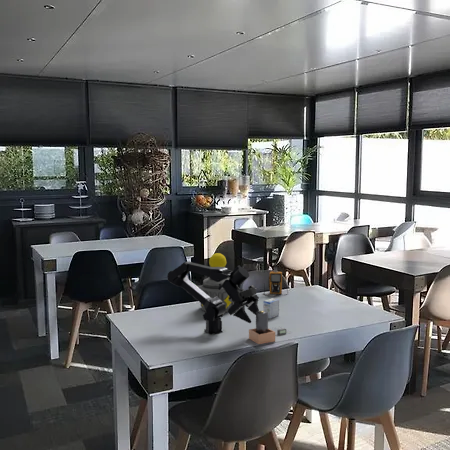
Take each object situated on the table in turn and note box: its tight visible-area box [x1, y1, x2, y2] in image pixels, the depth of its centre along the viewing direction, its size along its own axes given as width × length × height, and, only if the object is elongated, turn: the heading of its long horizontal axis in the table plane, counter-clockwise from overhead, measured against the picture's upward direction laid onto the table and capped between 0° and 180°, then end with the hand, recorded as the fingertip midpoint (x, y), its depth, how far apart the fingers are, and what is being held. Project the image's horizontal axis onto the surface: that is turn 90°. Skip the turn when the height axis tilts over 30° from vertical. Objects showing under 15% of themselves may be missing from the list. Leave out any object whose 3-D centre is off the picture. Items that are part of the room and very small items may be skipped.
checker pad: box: [268, 326, 293, 337], centre depth 223 cm, size 10×10×2 cm
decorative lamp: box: [200, 252, 234, 314], centre depth 262 cm, size 19×19×30 cm
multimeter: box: [263, 260, 289, 297], centre depth 293 cm, size 15×10×20 cm
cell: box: [255, 310, 269, 334], centre depth 211 cm, size 5×5×12 cm
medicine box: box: [262, 297, 280, 319], centre depth 247 cm, size 8×4×9 cm, turn 141°
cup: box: [248, 327, 276, 345], centre depth 211 cm, size 8×8×4 cm
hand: (255, 319), depth 212 cm, fingers open, 9 cm apart
